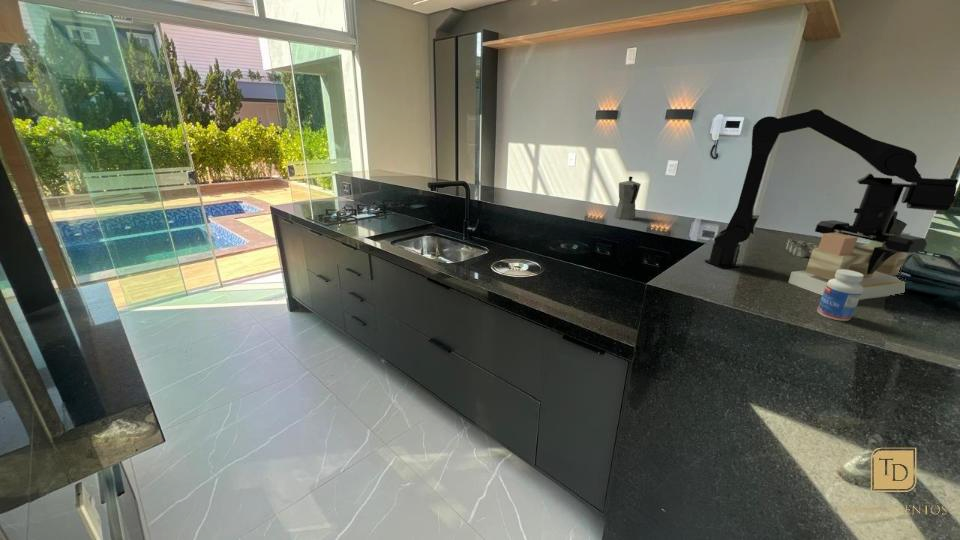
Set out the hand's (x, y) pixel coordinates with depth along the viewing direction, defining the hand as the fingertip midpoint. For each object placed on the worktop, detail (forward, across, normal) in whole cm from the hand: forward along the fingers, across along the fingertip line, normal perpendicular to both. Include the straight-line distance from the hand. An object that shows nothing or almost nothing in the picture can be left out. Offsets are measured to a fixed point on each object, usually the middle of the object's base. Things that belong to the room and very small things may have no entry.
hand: (853, 269), depth 91 cm
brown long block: (+1, 0, 0) cm, 1 cm away
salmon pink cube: (-5, 0, +8) cm, 10 cm away
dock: (+5, 0, 0) cm, 5 cm away
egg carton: (+6, +25, -19) cm, 32 cm away
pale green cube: (-5, 0, -9) cm, 10 cm away
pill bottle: (+5, -11, +20) cm, 23 cm away
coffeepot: (+5, +82, +6) cm, 83 cm away
